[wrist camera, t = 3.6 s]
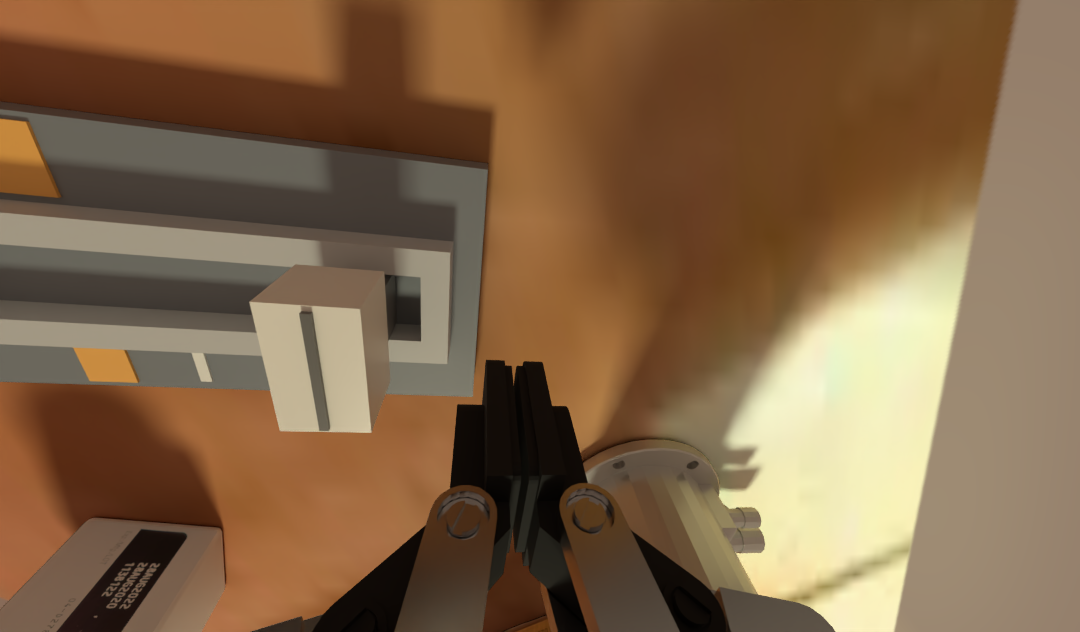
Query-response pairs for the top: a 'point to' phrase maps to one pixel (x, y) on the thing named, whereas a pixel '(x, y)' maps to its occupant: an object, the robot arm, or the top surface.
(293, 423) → the fader
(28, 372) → the console
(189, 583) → the container
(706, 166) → the top surface
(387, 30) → the top surface
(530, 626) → the pancake mix bag
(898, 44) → the top surface
